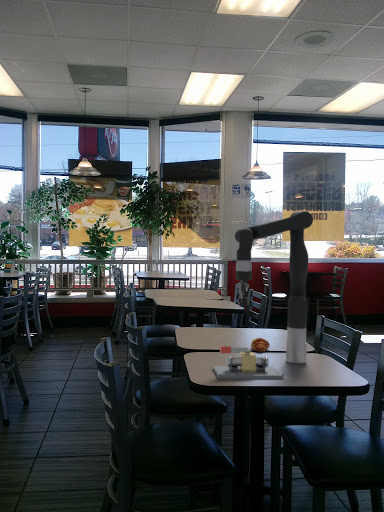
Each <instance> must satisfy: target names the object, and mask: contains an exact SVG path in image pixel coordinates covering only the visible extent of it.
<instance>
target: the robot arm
mask: <svg viewBox="0 0 384 512" xmlns="http://www.w3.org/2000/svg"><path fill="white" fill-rule="evenodd" d="M313 217H314V216H313V215H312V213H310V212H309V211H308V210H297V211H294V212H292V213H291V214H290V216H288V217H285V218H282V219H277V220H272V221H267V222H266V221H265V222H263V223H259V224H256V225H252V226H248V227H244V228H239V229H238V230H236V232H235V233H234V238H235V239H234V240H235V241H236V242H238V245H239V246H238V249H236V264H235V279H236V281H239V283H238V294H239V297H240V307H241V306H242V307H246V306H247V298H249V293H250V285H249V282H248V281H251V280H252V279H253V277H252V275H253V271H252V267H253V265H252V250H253V245H254V240H260V239H265V238H268V237H272V236H275V235H278V234H281V233H284V232H288V231H289V240H290V241H289V264H288V265H289V267H288V268H289V280H290V289H289V290H290V291H289V299H288V303H287V305H288V306H287V324H286V326H287V329H286V349H285V350H286V352H285V353H286V355H285V357H286V358H285V362H286V363H289V364H299V365H301V364H307V359H308V358H307V357H308V343H307V341H306V340H307V323H308V321H307V320H308V302H307V301H308V300H307V293H306V283H307V279H308V271H309V253H308V252H309V251H308V249H307V247H306V244H305V236H304V235H305V232H304V231H305V230H307V229H308V228H310V227H311V226H312V224H313V223H314V218H313Z"/></svg>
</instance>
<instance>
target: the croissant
mask: <svg viewBox="0 0 384 512" xmlns="http://www.w3.org/2000/svg"><path fill="white" fill-rule="evenodd" d="M270 346H271V345H270V342H269V341H268V339H265V338H263V337H256V338H253V339H252V340H251V343H250V347H251V350H254V351H256V352H261V353H262V352H266V351H267V350H268V349H269V348H270Z"/></svg>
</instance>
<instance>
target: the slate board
mask: <svg viewBox="0 0 384 512" xmlns="http://www.w3.org/2000/svg"><path fill="white" fill-rule="evenodd" d="M212 370H213V371H214V372H213V373H214V374H215V375H216V376H217V378H218V379H219V380H222V379H223V380H226V379H227V380H237V379H238V380H240V379H241V380H283V379H284V376H283V374H282V373H281V372H280V371H279V370H278V369H276V368H275V367H274V366H268V367H265V372H258V371H257V370H256V368H255V373H245V372H241V371H240V369H239V366H238V372H231V371H230V369H229V367H227V365H226V366H225V365H214V366H212Z"/></svg>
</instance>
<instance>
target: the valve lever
mask: <svg viewBox="0 0 384 512" xmlns="http://www.w3.org/2000/svg"><path fill="white" fill-rule="evenodd" d="M240 352H243V353H247V354H250V353H251V352H252V348H250V347H248V346H231V345H220V346H219V353H220V354H231V353H240Z"/></svg>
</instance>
